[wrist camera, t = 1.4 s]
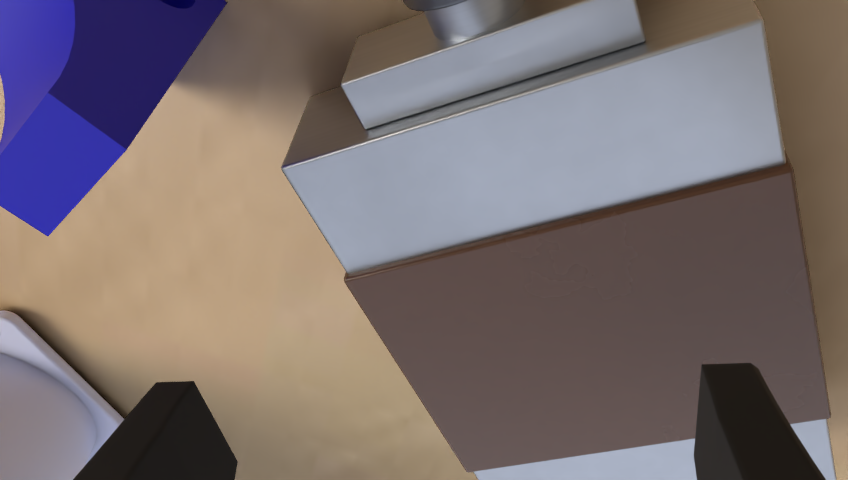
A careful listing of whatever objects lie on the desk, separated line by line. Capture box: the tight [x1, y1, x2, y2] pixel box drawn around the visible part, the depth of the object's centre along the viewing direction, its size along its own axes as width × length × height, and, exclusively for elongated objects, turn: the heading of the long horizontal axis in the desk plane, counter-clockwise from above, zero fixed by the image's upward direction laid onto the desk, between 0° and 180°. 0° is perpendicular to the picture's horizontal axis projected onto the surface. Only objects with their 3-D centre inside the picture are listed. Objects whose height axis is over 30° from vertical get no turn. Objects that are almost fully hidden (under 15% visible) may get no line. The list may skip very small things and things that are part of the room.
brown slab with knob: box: [281, 0, 837, 480], centre depth 20 cm, size 10×18×3 cm, turn 23°
